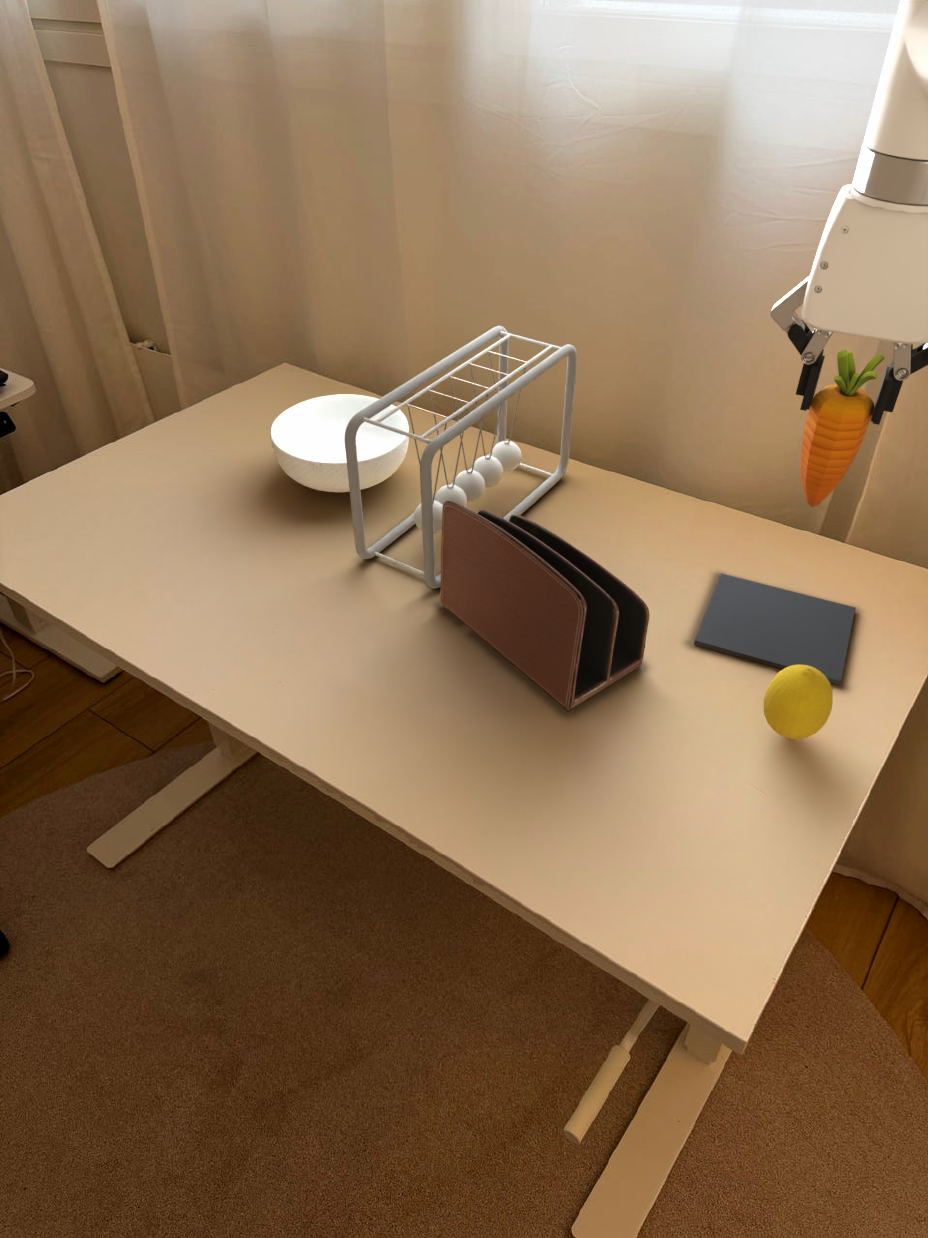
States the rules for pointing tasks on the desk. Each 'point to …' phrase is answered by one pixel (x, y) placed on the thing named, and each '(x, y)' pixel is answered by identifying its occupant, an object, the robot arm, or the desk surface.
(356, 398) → the cereal bowl
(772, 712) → the lemon
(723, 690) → the desk surface
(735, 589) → the mat
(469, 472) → the newton's cradle
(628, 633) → the letter holder
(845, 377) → the carrot
